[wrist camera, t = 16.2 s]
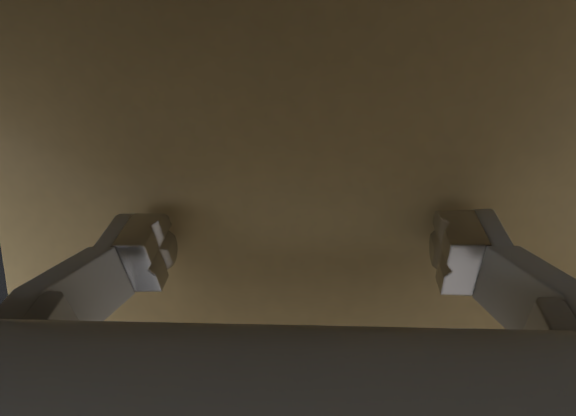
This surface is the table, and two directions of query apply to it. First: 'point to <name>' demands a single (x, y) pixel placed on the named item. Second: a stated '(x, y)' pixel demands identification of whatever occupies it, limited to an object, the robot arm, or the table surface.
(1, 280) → the table surface
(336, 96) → the oven door
